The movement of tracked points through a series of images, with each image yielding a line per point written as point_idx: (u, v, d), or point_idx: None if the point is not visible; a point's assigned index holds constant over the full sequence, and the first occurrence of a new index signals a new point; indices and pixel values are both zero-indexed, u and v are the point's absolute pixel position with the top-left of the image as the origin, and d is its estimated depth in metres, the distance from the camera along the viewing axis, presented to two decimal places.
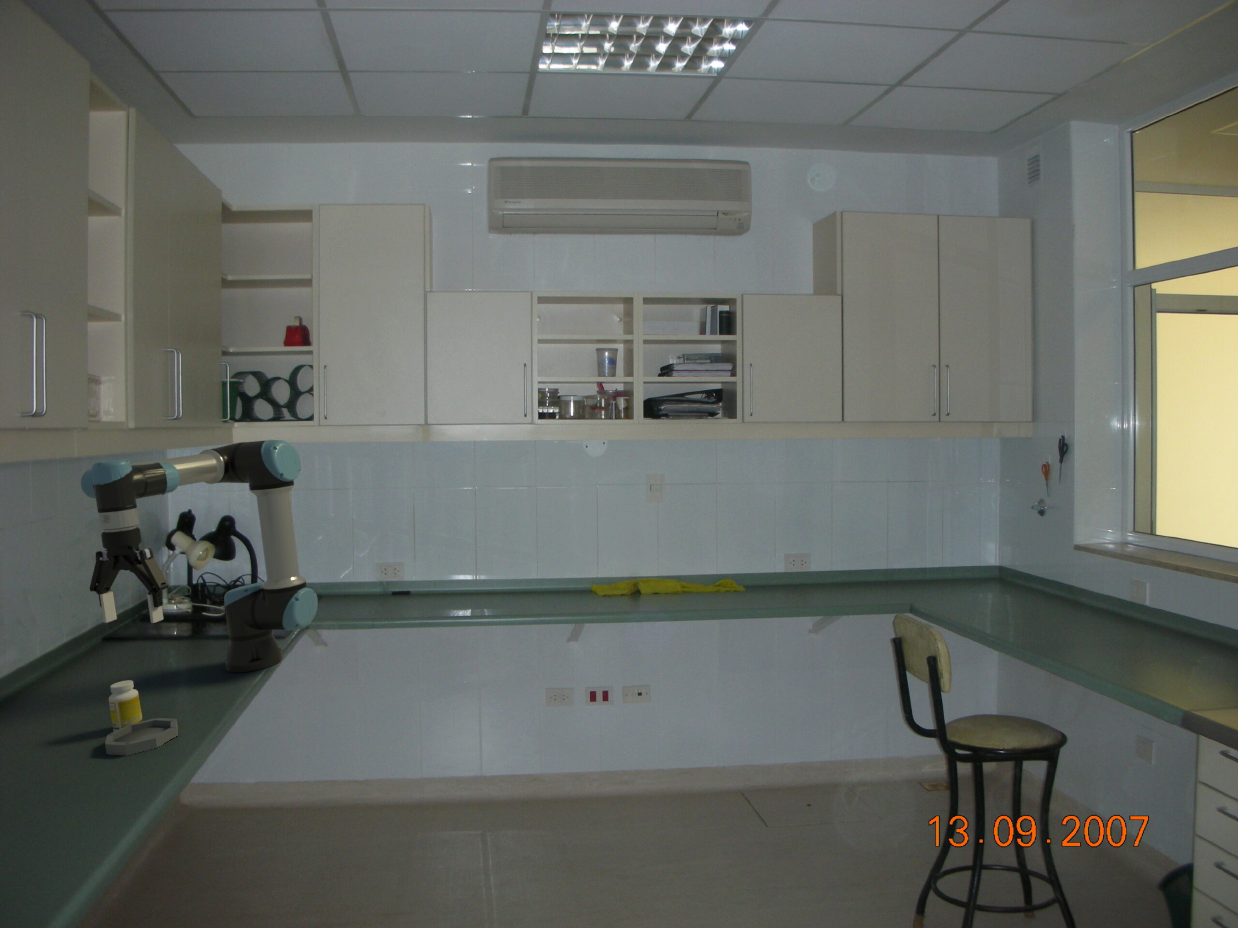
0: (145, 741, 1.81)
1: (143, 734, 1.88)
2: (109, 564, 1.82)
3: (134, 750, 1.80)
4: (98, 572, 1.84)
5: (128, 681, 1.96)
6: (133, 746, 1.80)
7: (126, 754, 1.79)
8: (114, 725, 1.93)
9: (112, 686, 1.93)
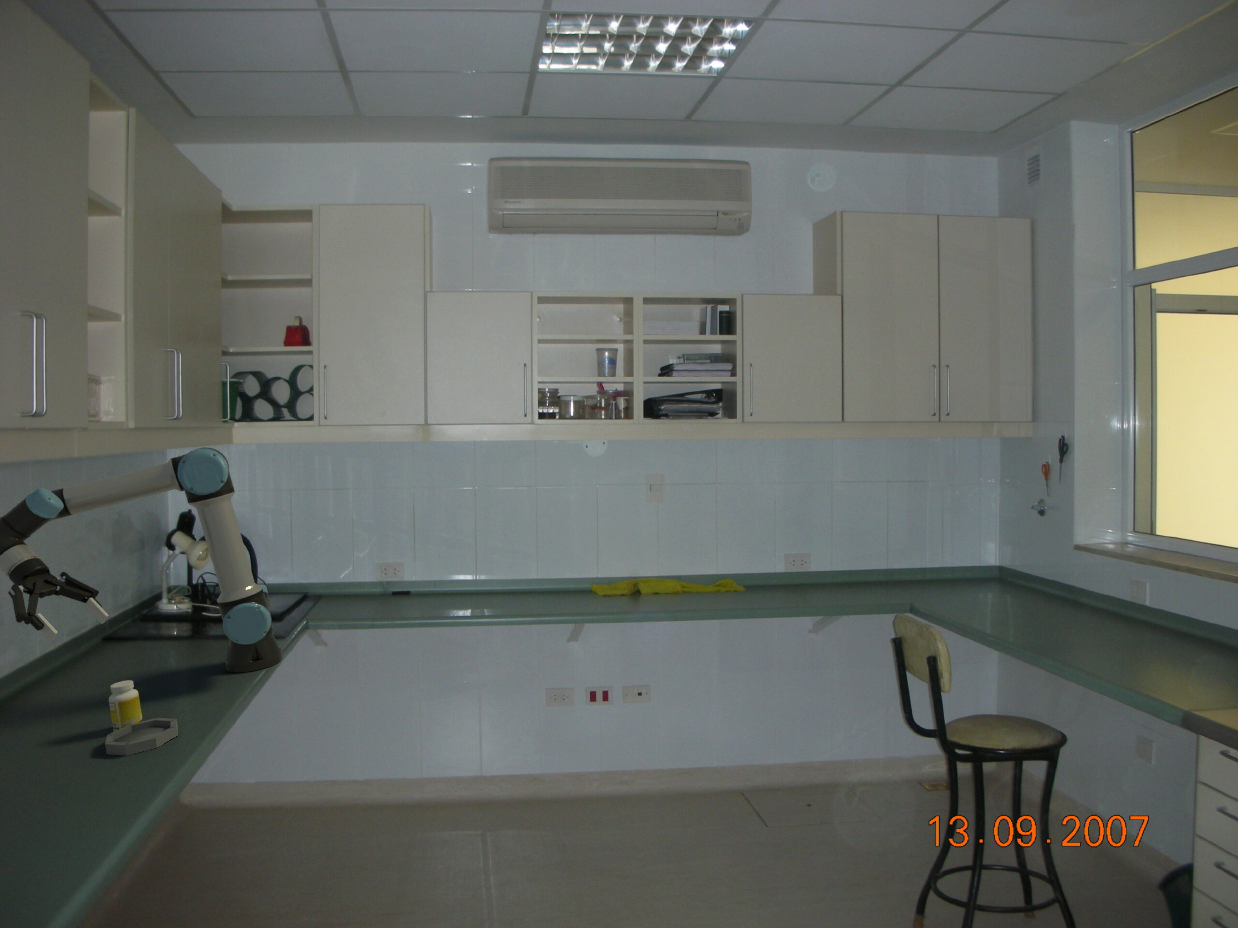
0: (145, 741, 1.81)
1: (143, 734, 1.88)
2: None
3: (134, 750, 1.80)
4: None
5: (128, 681, 1.96)
6: (133, 746, 1.80)
7: (126, 754, 1.79)
8: (114, 725, 1.93)
9: (112, 686, 1.93)
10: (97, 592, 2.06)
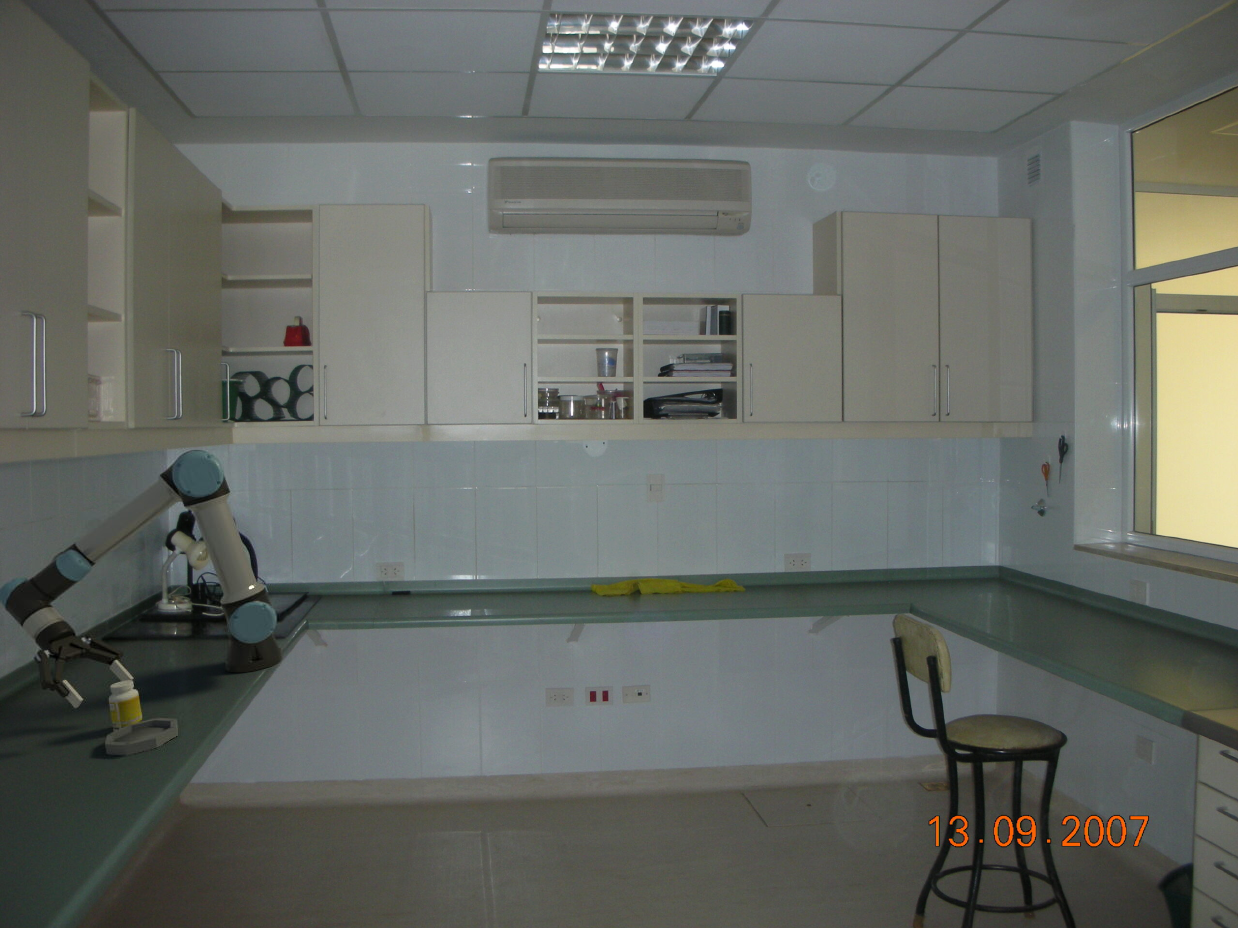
0: (145, 741, 1.81)
1: (143, 734, 1.88)
2: None
3: (134, 750, 1.80)
4: None
5: (128, 681, 1.96)
6: (133, 746, 1.80)
7: (126, 754, 1.79)
8: (114, 725, 1.93)
9: (112, 686, 1.93)
10: (122, 653, 2.05)
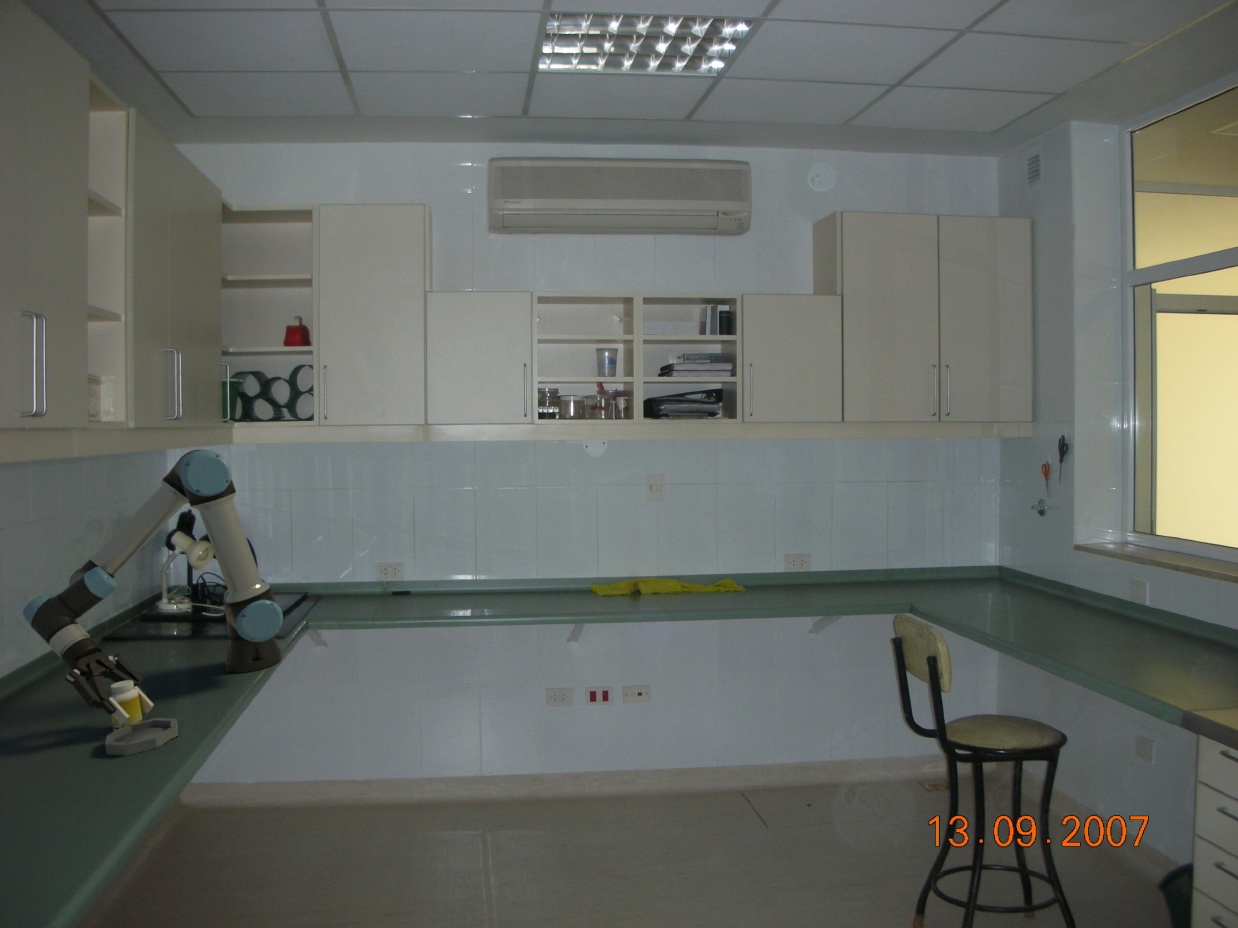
0: (145, 741, 1.81)
1: (143, 734, 1.88)
2: None
3: (134, 750, 1.80)
4: None
5: (128, 681, 1.96)
6: (133, 746, 1.80)
7: (126, 754, 1.79)
8: (114, 725, 1.93)
9: (112, 686, 1.93)
10: (141, 679, 2.01)
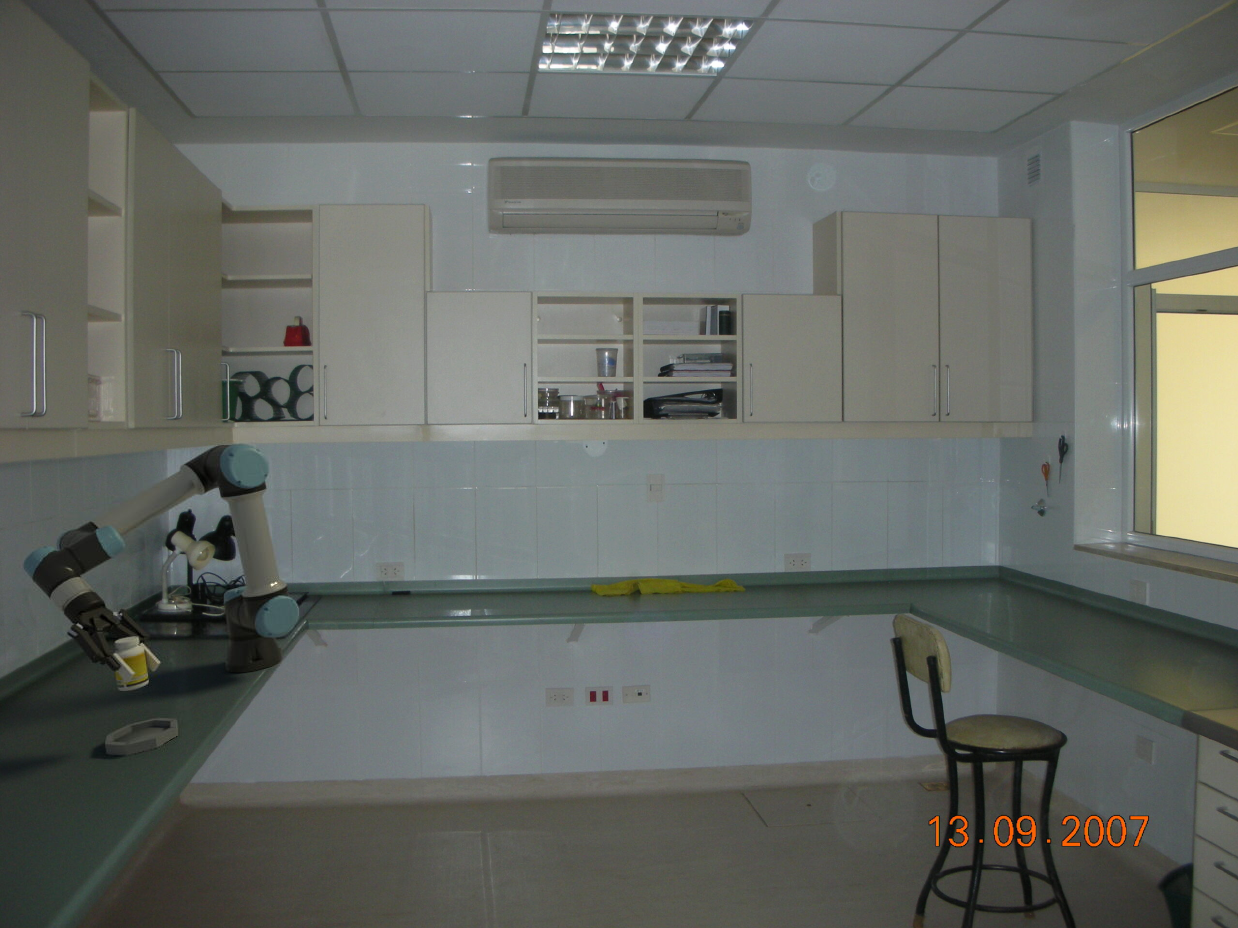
0: (145, 741, 1.81)
1: (143, 734, 1.88)
2: None
3: (134, 750, 1.80)
4: None
5: (133, 637, 1.86)
6: (133, 746, 1.80)
7: (126, 754, 1.79)
8: (118, 683, 1.83)
9: (117, 642, 1.83)
10: (147, 636, 1.91)
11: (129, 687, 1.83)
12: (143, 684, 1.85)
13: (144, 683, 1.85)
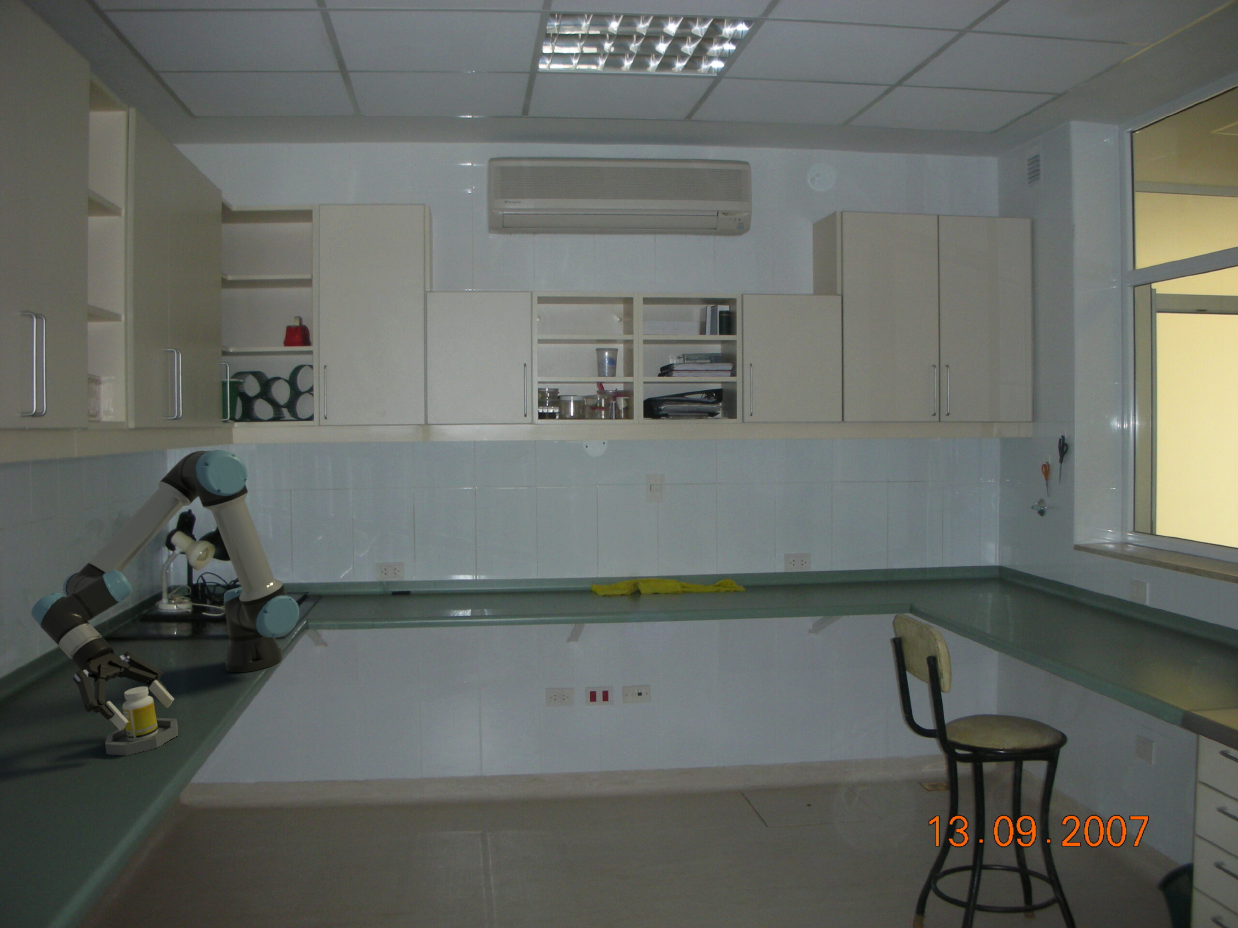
0: (145, 741, 1.81)
1: None
2: None
3: (134, 750, 1.80)
4: None
5: (143, 687, 1.87)
6: (133, 746, 1.80)
7: (126, 754, 1.79)
8: (128, 733, 1.84)
9: (126, 693, 1.84)
10: (161, 673, 1.95)
11: (138, 738, 1.84)
12: (153, 734, 1.86)
13: (153, 733, 1.86)
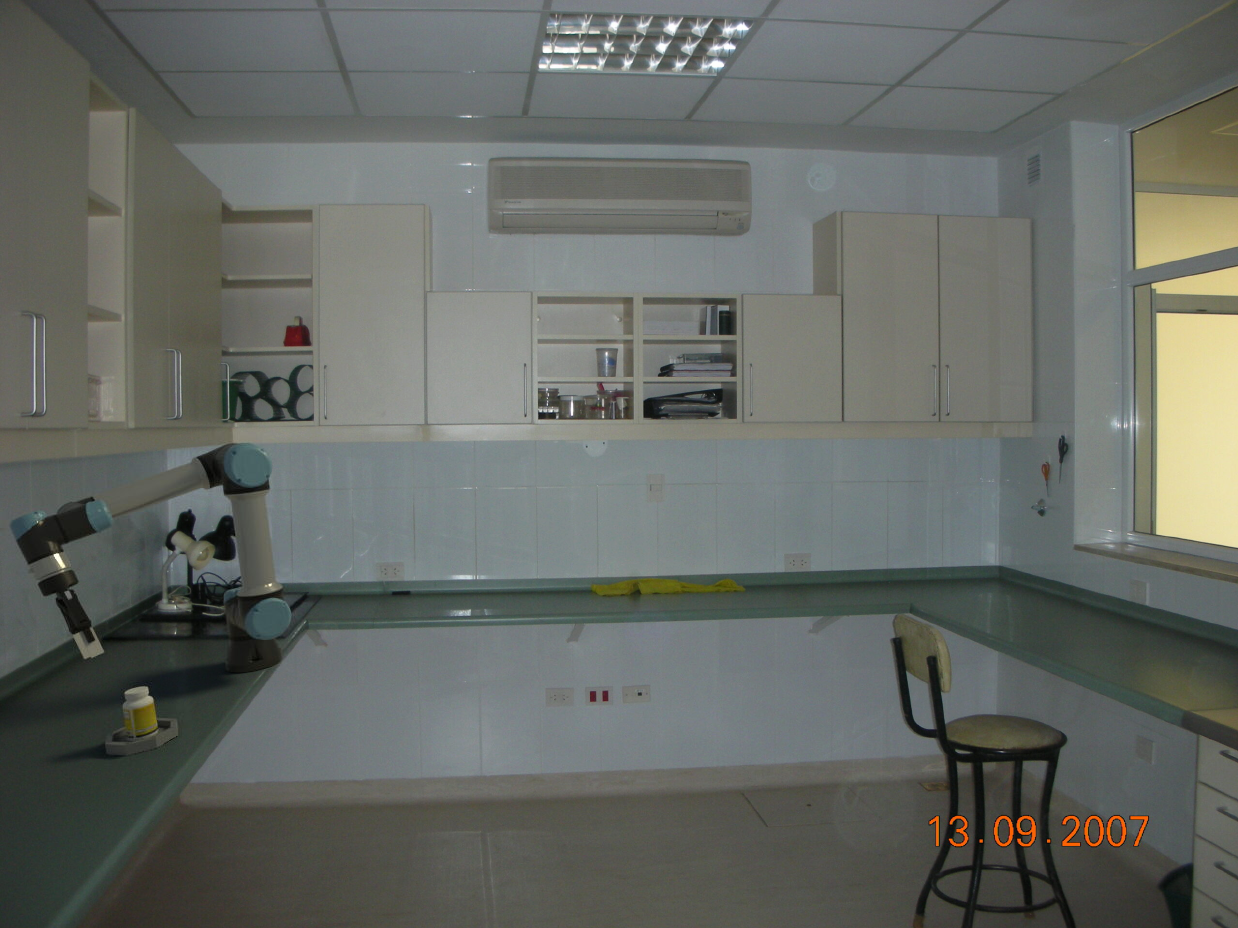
0: (145, 741, 1.81)
1: None
2: None
3: (134, 750, 1.80)
4: (64, 615, 1.98)
5: (143, 687, 1.87)
6: (133, 746, 1.80)
7: (126, 754, 1.79)
8: (128, 733, 1.84)
9: (126, 692, 1.84)
10: None
11: (138, 738, 1.84)
12: (152, 734, 1.86)
13: (153, 733, 1.86)
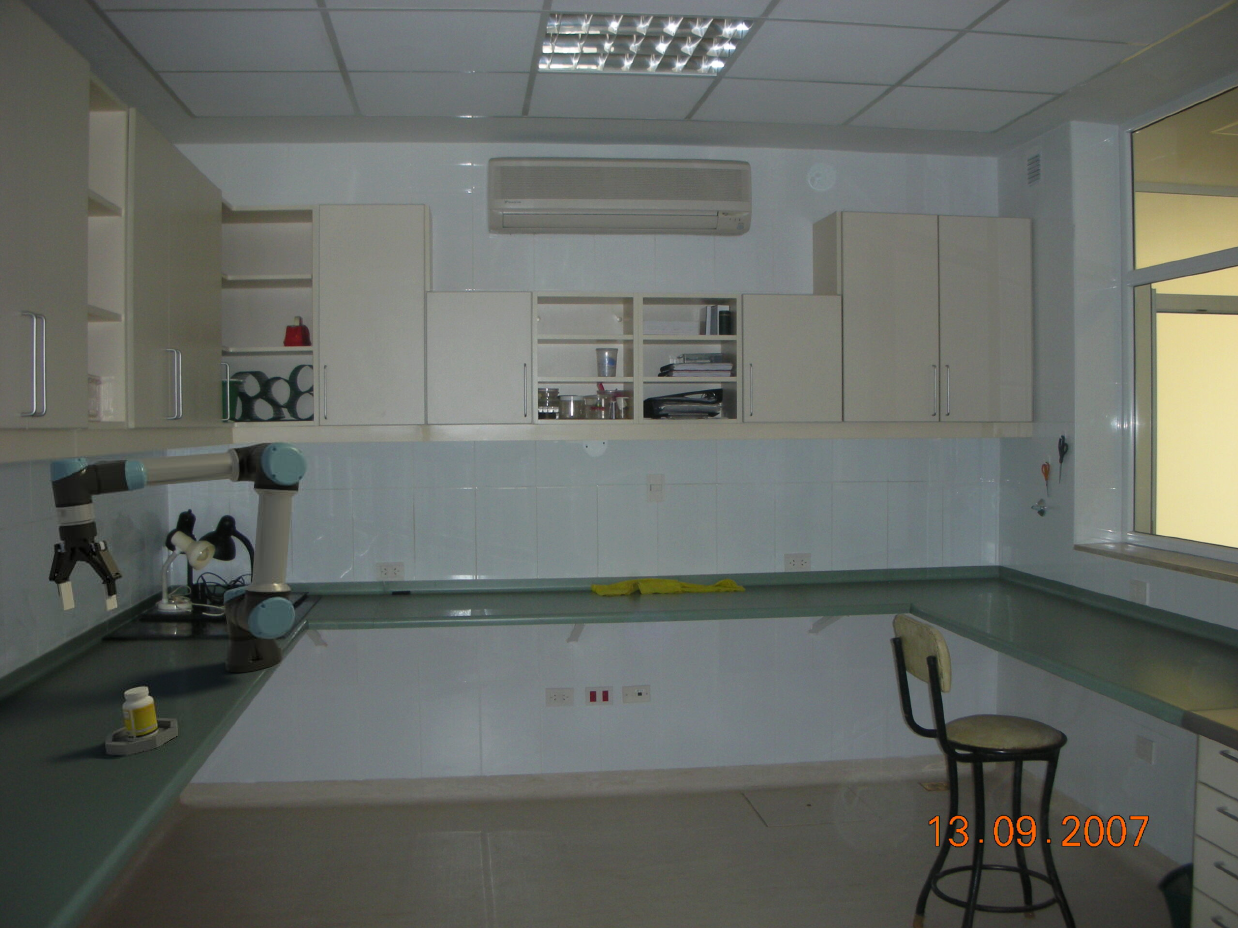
0: (145, 741, 1.81)
1: None
2: (66, 555, 1.95)
3: (134, 750, 1.80)
4: (56, 563, 1.97)
5: (143, 687, 1.87)
6: (133, 746, 1.80)
7: (126, 754, 1.79)
8: (128, 733, 1.84)
9: (126, 693, 1.84)
10: None
11: (138, 738, 1.84)
12: (152, 734, 1.86)
13: (153, 733, 1.86)
